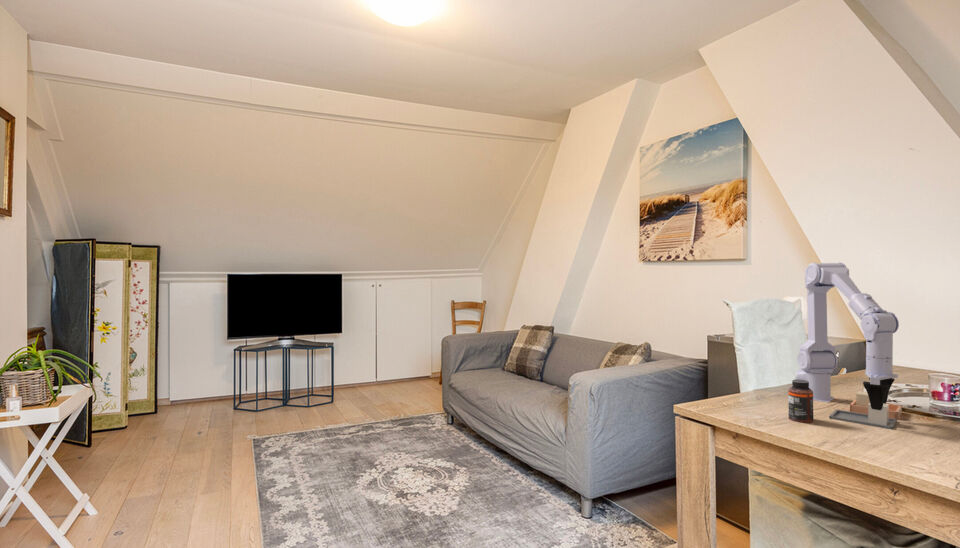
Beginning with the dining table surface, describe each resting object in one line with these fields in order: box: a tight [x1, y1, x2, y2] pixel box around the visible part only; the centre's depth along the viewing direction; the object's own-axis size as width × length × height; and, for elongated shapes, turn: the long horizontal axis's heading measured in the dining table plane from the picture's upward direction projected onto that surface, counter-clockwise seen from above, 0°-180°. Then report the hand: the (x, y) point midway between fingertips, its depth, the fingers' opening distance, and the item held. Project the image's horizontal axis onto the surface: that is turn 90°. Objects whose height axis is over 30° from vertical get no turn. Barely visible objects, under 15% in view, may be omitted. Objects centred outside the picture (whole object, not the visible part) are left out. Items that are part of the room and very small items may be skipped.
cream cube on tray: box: [868, 403, 890, 426], centre depth 142 cm, size 4×4×5 cm
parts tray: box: [828, 409, 898, 430], centre depth 144 cm, size 14×9×1 cm, turn 46°
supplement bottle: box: [787, 379, 814, 424], centre depth 145 cm, size 6×6×11 cm
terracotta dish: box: [849, 398, 903, 421], centre depth 151 cm, size 11×9×2 cm
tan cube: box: [855, 390, 870, 407], centre depth 153 cm, size 4×4×5 cm
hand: (878, 406), depth 142 cm, fingers open, 7 cm apart
